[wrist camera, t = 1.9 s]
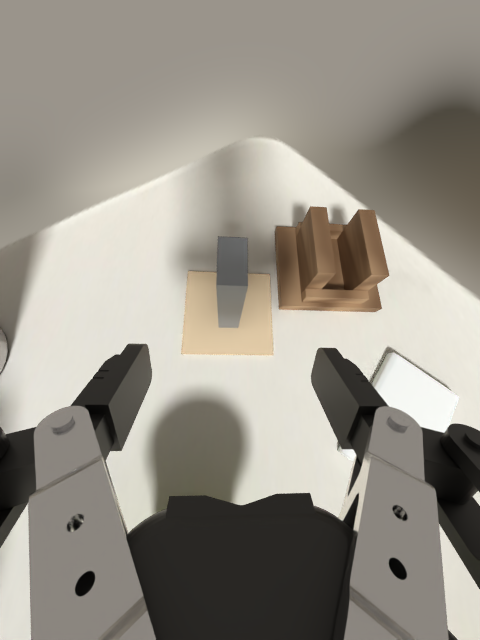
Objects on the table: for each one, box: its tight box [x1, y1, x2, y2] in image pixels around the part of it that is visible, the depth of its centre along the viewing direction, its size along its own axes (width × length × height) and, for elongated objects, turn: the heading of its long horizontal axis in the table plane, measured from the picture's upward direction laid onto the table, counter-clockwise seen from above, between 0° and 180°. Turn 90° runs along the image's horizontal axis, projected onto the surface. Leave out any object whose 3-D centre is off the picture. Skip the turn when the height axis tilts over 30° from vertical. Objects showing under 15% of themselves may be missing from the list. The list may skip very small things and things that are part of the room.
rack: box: [275, 207, 389, 312], centre depth 26 cm, size 12×11×6 cm
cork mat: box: [181, 271, 273, 355], centre depth 26 cm, size 10×10×1 cm
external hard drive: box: [337, 352, 459, 462], centre depth 24 cm, size 2×8×12 cm
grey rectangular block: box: [216, 236, 248, 328], centre depth 21 cm, size 2×4×10 cm, turn 0°
